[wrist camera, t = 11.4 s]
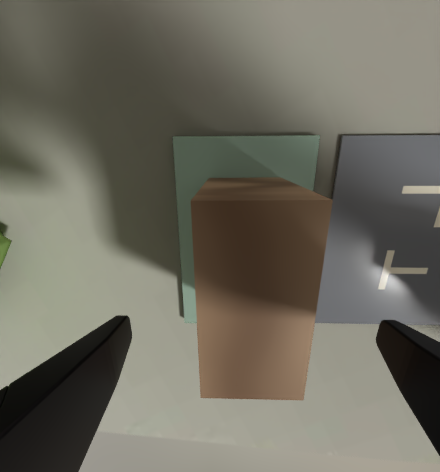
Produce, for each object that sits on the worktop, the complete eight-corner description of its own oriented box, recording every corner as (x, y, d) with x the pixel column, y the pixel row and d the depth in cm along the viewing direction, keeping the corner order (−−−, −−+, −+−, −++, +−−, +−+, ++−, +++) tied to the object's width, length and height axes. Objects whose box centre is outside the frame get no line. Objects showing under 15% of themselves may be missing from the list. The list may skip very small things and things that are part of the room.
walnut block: (280, 177, 15) (332, 200, 8) (271, 297, 18) (303, 400, 10) (209, 177, 15) (190, 200, 8) (212, 296, 18) (200, 397, 11)
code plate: (541, 134, 14) (546, 134, 14) (464, 323, 19) (466, 325, 19) (341, 135, 15) (342, 135, 14) (313, 321, 19) (314, 322, 19)
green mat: (317, 136, 15) (320, 135, 14) (294, 320, 19) (296, 325, 19) (174, 137, 15) (172, 136, 15) (185, 318, 20) (184, 322, 19)
